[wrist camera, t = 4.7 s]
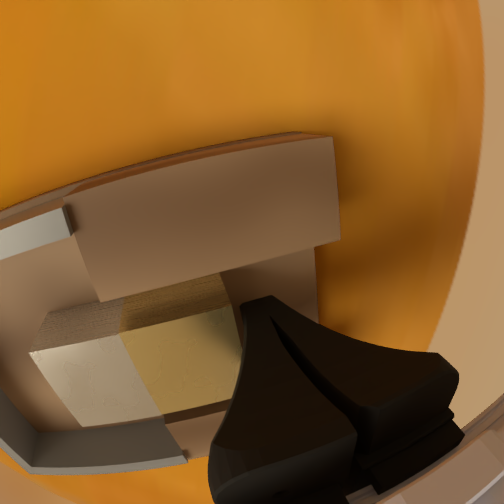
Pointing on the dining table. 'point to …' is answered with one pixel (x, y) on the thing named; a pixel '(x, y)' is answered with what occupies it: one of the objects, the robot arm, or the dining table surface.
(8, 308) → the slot board
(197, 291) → the brass chip
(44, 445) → the tray
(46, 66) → the dining table surface
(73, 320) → the silvery white square block
